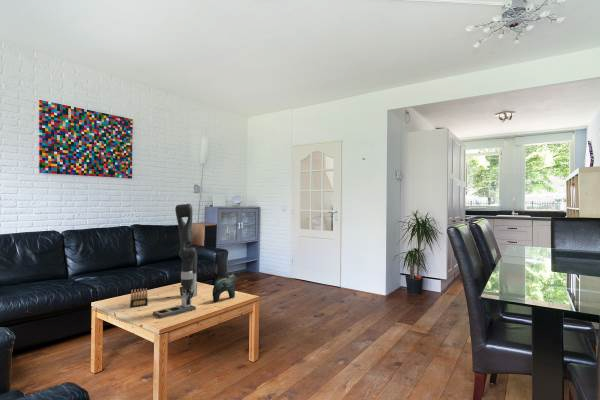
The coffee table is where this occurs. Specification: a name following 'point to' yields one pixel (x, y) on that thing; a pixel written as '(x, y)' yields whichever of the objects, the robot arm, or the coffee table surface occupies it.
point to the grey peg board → (172, 311)
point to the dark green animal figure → (224, 287)
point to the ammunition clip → (139, 298)
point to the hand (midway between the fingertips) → (186, 303)
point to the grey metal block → (185, 302)
